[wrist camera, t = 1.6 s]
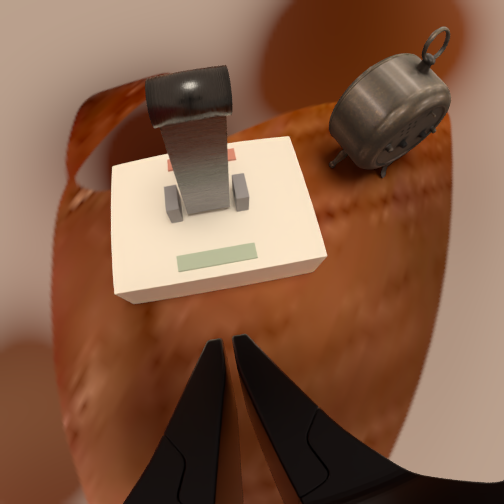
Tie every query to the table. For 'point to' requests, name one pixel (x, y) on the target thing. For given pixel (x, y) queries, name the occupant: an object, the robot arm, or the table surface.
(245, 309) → the table surface
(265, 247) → the switch box
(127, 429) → the table surface
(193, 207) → the breaker lever
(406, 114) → the alarm clock
